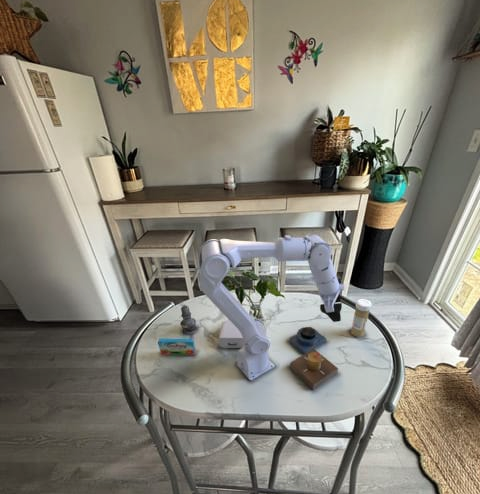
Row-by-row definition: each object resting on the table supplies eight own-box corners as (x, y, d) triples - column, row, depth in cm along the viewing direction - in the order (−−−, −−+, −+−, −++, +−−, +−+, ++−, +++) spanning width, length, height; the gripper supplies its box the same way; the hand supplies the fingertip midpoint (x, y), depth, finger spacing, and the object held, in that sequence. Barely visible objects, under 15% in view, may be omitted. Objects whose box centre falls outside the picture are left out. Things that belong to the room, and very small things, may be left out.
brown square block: (313, 390, 78) (313, 384, 77) (289, 368, 86) (290, 362, 84) (337, 373, 83) (338, 368, 81) (313, 354, 90) (313, 348, 88)
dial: (313, 372, 80) (314, 363, 78) (304, 364, 83) (305, 355, 81) (323, 366, 82) (324, 357, 80) (313, 358, 85) (314, 349, 83)
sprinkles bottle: (367, 334, 96) (374, 303, 88) (357, 339, 94) (364, 308, 87) (357, 327, 99) (363, 296, 92) (347, 331, 98) (353, 301, 90)
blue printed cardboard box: (196, 352, 94) (193, 338, 91) (195, 355, 93) (192, 342, 89) (162, 351, 95) (158, 338, 92) (161, 354, 94) (157, 341, 91)
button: (307, 341, 90) (308, 337, 90) (298, 334, 94) (298, 330, 93) (317, 336, 92) (317, 332, 91) (308, 329, 96) (308, 325, 95)
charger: (248, 320, 106) (246, 348, 94) (225, 320, 107) (219, 347, 95) (248, 310, 104) (245, 338, 91) (224, 310, 105) (218, 337, 92)
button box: (304, 354, 90) (305, 347, 88) (289, 341, 95) (289, 334, 93) (325, 341, 94) (326, 334, 92) (310, 330, 100) (310, 322, 98)
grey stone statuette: (200, 330, 103) (195, 305, 97) (185, 337, 101) (179, 311, 94) (193, 322, 107) (188, 297, 101) (179, 328, 105) (173, 303, 98)
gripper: (340, 292, 66) (352, 328, 73) (340, 257, 76) (350, 292, 84) (311, 296, 69) (325, 331, 77) (314, 262, 80) (327, 295, 87)
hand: (336, 310), depth 80 cm, fingers open, 7 cm apart
